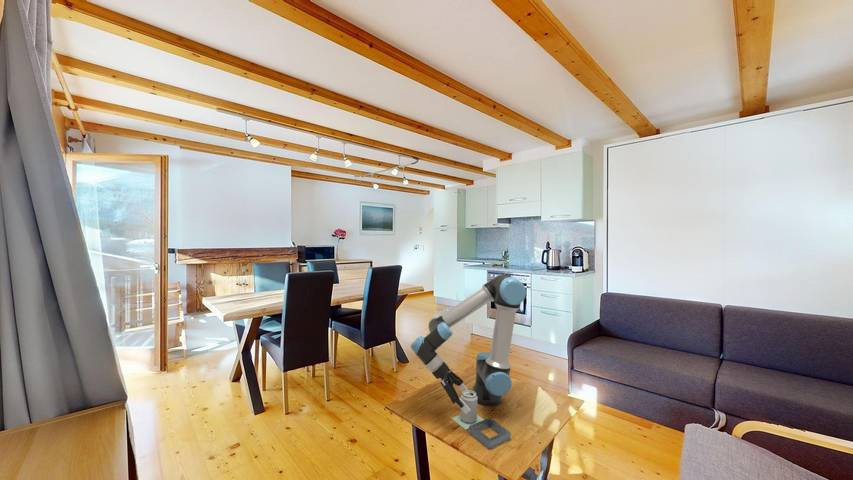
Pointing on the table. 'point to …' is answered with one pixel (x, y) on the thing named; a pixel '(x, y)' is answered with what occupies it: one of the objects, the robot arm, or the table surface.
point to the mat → (464, 424)
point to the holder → (488, 442)
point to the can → (471, 402)
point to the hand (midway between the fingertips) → (469, 403)
